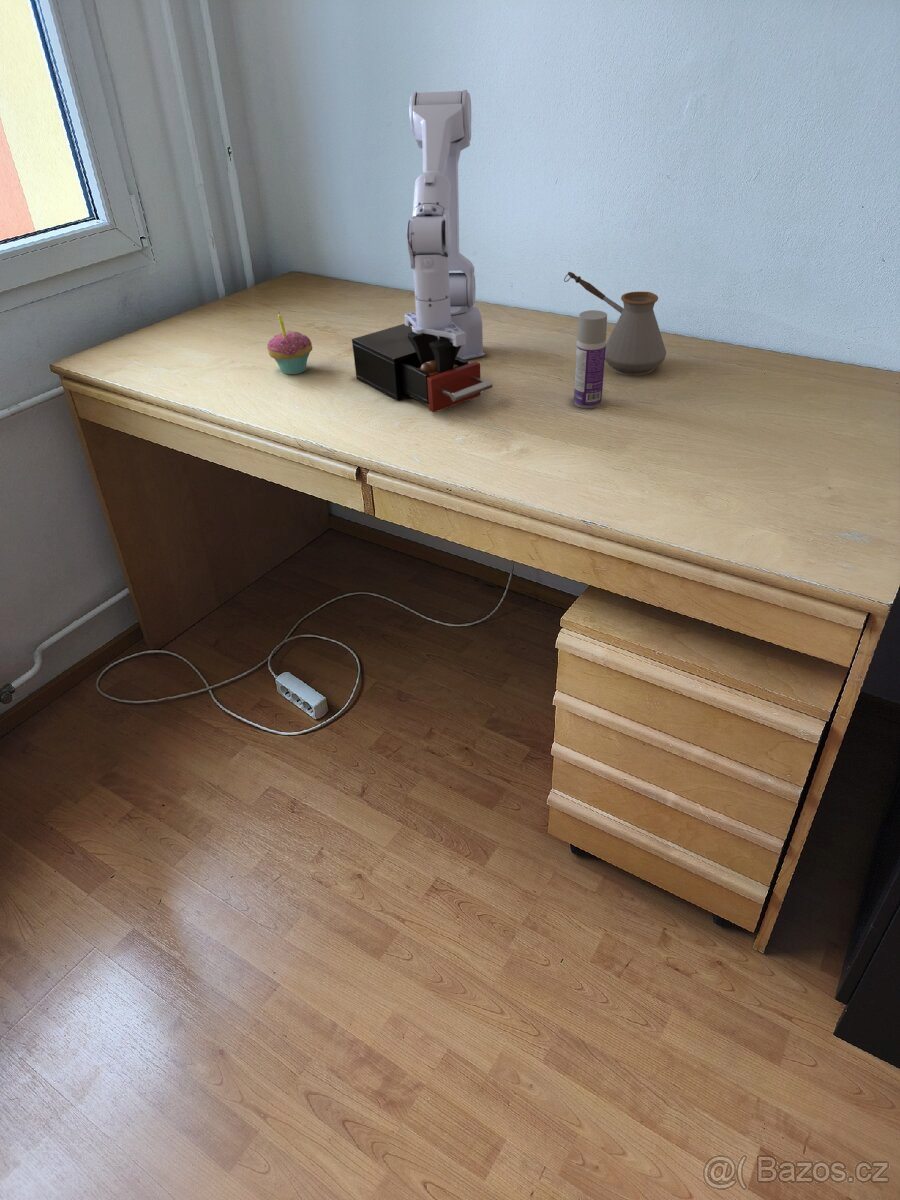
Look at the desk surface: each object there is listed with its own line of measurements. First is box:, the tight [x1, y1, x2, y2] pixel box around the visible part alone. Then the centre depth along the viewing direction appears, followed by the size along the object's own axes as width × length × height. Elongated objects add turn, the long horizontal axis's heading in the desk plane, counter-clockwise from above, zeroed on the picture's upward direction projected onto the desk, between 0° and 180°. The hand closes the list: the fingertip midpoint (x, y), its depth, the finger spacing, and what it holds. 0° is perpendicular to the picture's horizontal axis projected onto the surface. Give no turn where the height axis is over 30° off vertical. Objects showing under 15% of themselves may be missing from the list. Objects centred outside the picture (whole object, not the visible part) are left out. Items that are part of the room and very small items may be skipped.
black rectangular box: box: [351, 323, 440, 401], centre depth 146 cm, size 14×12×8 cm
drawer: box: [398, 356, 493, 414], centre depth 137 cm, size 17×10×6 cm, turn 38°
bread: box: [417, 360, 458, 377], centre depth 138 cm, size 6×4×4 cm, turn 127°
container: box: [573, 309, 608, 410], centre depth 132 cm, size 5×5×15 cm
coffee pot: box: [563, 271, 667, 376], centre depth 146 cm, size 21×12×15 cm, turn 49°
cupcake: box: [267, 310, 313, 375], centre depth 151 cm, size 9×8×12 cm
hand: (436, 376), depth 138 cm, fingers closed on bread, 4 cm apart
